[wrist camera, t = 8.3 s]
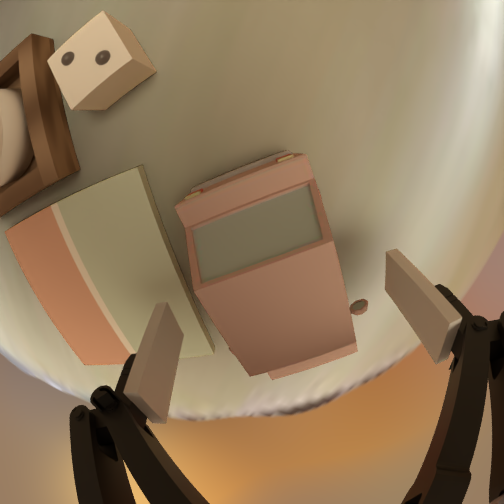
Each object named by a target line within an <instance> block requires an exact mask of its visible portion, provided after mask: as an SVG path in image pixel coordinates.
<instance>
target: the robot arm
mask: <svg viewBox="0 0 504 504" xmlns="http://www.w3.org/2000/svg"><path fill="white" fill-rule="evenodd" d="M385 290H386V292H387V293H388V294H389V296H390V297H391V298H392V300H393V301H394V303H395V304H396V305H397V307H398V308H399V310H400V311H401V312H402V314H403V315H404V317H405V318H406V320H407V321H408V322H409V324H410V325H411V327H412V328H413V330H414V331H415V333H416V334H417V336H418V337H419V339H420V340H421V342H422V343H423V345H424V346H425V348H426V350H427V351H428V353H429V354H430V356H431V357H432V359H433V360H434V362H435V364H438V363H440V362H442V361H444V360H446V359H448V357H449V355H450V352H451V351H452V352H453V354H454V358H453V361H452V363H451V365H450V368H449V370H450V369H451V373H450V378H449V382H448V387H447V391H446V395H445V400H444V403H443V407H442V410H441V414H440V417H439V420H438V424H437V427H436V430H435V434H434V436H433V439H432V441H431V444H430V447H429V450H428V452H427V455H426V457H425V460H424V462H423V465H422V467H421V469H420V472H419V474H418V476H417V478H416V480H415V482H414V484H413V485H412V487H411V488H410V490H409V491H408V493H407V494H406V496H405V498H404V500H403V501H402V503H401V504H462V502H463V499H464V497H465V494H466V492H467V489H468V486H469V484H470V480H471V473H470V471H469V468H470V465H471V461H472V458H473V455H474V451H475V447H476V444H477V440H478V435H479V431H480V427H481V422H482V417H483V411H484V405H485V399H486V391H487V383H488V381H489V389H490V399H491V411H492V461H491V474H490V485H489V504H504V311H503V313H501V316H500V319H498V320H493V321H487V320H486V319H485V318H484V317H482V316H473V315H472V314H471V313H470V312H469V310H468V309H467V308H466V307H465V306H464V305H463V304H462V303H461V302H460V301H459V300H458V299H457V297H456V296H455V295H453V293H452V292H451V291H450V290H449V289H448V288H446V287H444V286H443V285H441V284H438V285H436V286H434V285H433V284H432V283H431V282H430V281H429V280H428V279H427V278H426V277H425V276H424V275H423V274H422V273H421V272H420V271H419V270H418V269H417V268H416V267H415V266H414V265H413V264H412V263H411V262H410V261H409V260H408V259H407V258H406V257H405V256H404V255H403V254H402V253H401V252H400V251H399V250H398V249H394V250H390V251H386V277H385ZM183 337H184V334H183V332H182V330H181V328H180V326H179V324H178V322H177V320H176V318H175V316H174V314H173V312H172V310H171V308H170V306H169V304H168V302H162V303H156V305H155V307H154V310H153V312H152V315H151V317H150V320H149V322H148V325H147V327H146V330H145V333H144V335H143V338H142V341H141V343H140V346H139V349H138V351H137V353H135V354H131V355H130V356H129V357H128V359H127V360H126V362H125V364H124V367H123V370H122V372H121V376H120V378H119V380H118V383H117V386H116V389H115V392H114V391H113V390H112V389H111V387H109V386H107V385H105V386H100V387H98V388H97V389H96V390H94V392H93V393H92V395H91V398H90V400H91V403H92V404H93V405H94V406H95V407H96V409H93V410H89V409H88V408H87V407H86V406H84V405H79V406H77V407H75V408H74V409H73V410H72V412H71V414H70V440H71V453H72V463H73V471H74V479H75V485H76V491H77V496H78V502H79V504H136V502H135V499H134V496H133V493H132V490H131V487H130V484H129V480H128V477H127V473H126V469H125V466H124V462H125V463H126V465H127V467H128V469H129V471H130V472H131V474H132V476H133V478H134V479H135V481H136V482H137V484H138V486H139V487H140V489H141V490H142V492H143V493H144V495H145V497H146V498H147V500H148V501H149V502H150V504H209V503H208V502H207V500H206V499H205V498H204V497H203V496H202V495H201V494H200V493H199V492H198V491H197V489H196V488H195V487H194V486H193V485H192V484H191V483H190V482H189V480H188V479H187V478H186V477H185V475H184V474H183V473H182V472H181V470H180V469H179V468H178V467H177V465H176V464H175V463H174V462H173V460H172V459H171V458H170V456H169V455H168V454H167V452H166V451H165V450H164V448H163V447H162V445H161V444H160V443H159V441H158V440H157V438H156V437H155V435H154V434H153V432H152V431H151V429H150V428H149V426H148V425H146V420H147V418H148V419H149V420H150V421H151V422H152V423H166V421H167V416H168V411H169V405H170V400H171V395H172V390H173V385H174V380H175V375H176V370H177V365H178V360H179V356H180V351H181V346H182V342H183ZM123 460H124V462H123Z"/></svg>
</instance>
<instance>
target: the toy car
mask: <svg viewBox="0 0 504 504" xmlns="http://www.w3.org/2000/svg"><path fill="white" fill-rule="evenodd" d="M321 199H322V198H321V195H320V192H319V189H318V187H317V184H316V181H315V178H314V175H313V172H312V169H311V166H310V163H309V160H308V157H307V155H306V154H295V153H292V152H290V151H289V150H285V151H282V152H280V153H277V154H274V155H271V156H269V157H266V158H263V159H261V160H258V161H255V162H253V163H250V164H248V165H245V166H243V167H240V168H238V169H235V170H233V171H230V172H228V173H225V174H223V175H220V176H218V177H216V178H213V179H211V180H209V181H206V182H204V183H202V184H200V185H197V186H195V187H193V188H192V189H191V192H190V194H188V195H187V196H186V197H185V199H183V200H182V201H181V202H179V203H178V204H177V205H175V210H176V212H177V214H178V216H179V218H180V220H181V222H182V224H183V225H184V227H185V233H186V241H187V249H188V256H189V263H190V270H191V277H192V283H193V290H194V293H195V294H196V296H197V297H198V299H199V301H200V302H201V304H202V305H203V307H204V309H205V310H206V312H207V313H208V315H209V317H210V318H211V320H212V321H213V323H214V324H215V326H216V327H217V329H218V330H219V332H220V334H221V335H222V337H223V338H224V340H225V341H226V343H227V344H228V346H229V350H230V351H231V352H232V353H233V354H234V355H235V356H236V357H237V359H238V360H239V362H240V363H241V365H242V366H243V367H244V369H245V370H246V372H247V373H248V374H249V376H250V377H251V376H254V375H258V374H262V373H266V372H267V373H268V375H269V376H270V378H271V379H272V380H274V379H277V378H281V377H284V376H288V375H291V374H294V373H298V372H301V371H304V370H307V369H310V368H313V367H316V366H319V365H322V364H325V363H328V362H331V361H334V360H336V359H339V358H342V357H344V356H347V355H350V354H352V353H355V352H357V351H358V350H357V345H356V338H355V333H354V327H353V322H352V317H351V314H352V313H353V314H355V315H361V314H363V313H364V312H365V311H367V306H368V301H367V300H365V299H361V300H357V301H355V302H354V303H353V304H351V305H350V308H349V303H348V298H347V294H346V289H345V285H344V281H343V276H342V272H341V268H340V264H339V259H338V255H337V252H336V248H335V245H334V241H333V237H332V234H331V230H330V227H329V223H328V220H327V216H326V213H325V210H324V206H323V203H322V200H321Z"/></svg>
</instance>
